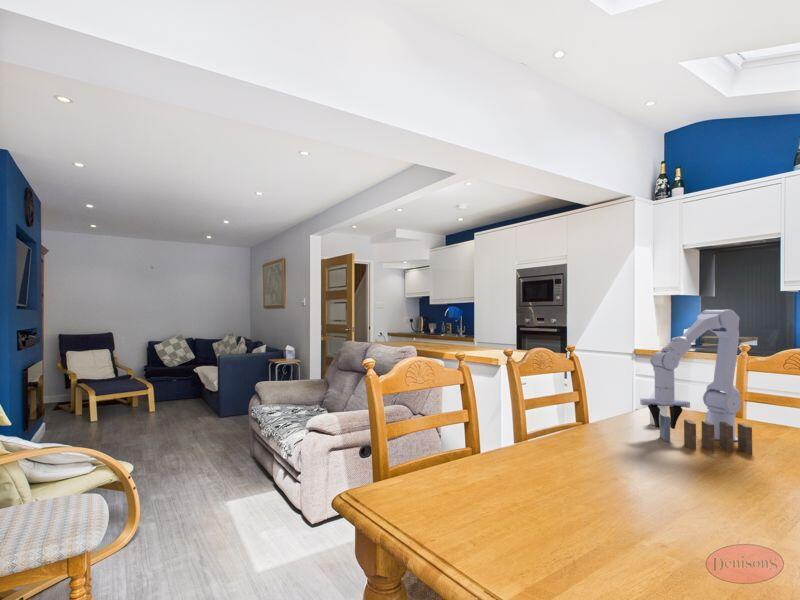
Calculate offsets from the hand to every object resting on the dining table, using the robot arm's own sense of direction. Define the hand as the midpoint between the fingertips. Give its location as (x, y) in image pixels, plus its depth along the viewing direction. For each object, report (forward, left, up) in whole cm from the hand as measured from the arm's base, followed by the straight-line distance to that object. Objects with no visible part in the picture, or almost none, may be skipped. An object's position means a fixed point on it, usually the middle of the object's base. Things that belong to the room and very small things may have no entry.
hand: (664, 427), depth 145 cm
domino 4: (+7, +15, -4) cm, 17 cm away
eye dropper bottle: (-20, +4, -4) cm, 21 cm away
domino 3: (+7, +10, -4) cm, 13 cm away
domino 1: (0, 0, -4) cm, 4 cm away
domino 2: (+7, +5, -4) cm, 9 cm away
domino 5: (+7, +20, -4) cm, 22 cm away
